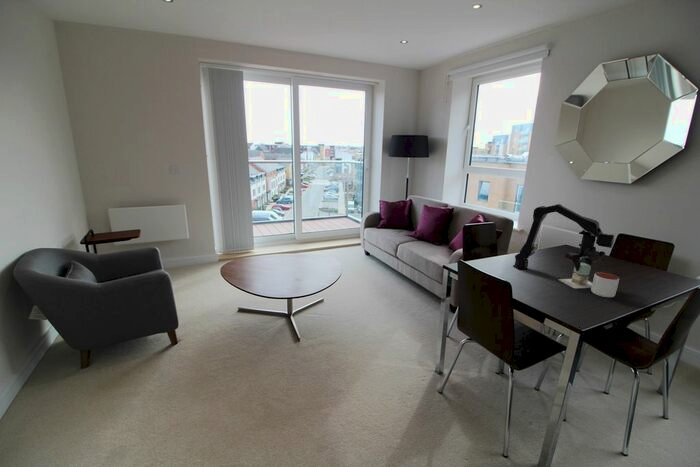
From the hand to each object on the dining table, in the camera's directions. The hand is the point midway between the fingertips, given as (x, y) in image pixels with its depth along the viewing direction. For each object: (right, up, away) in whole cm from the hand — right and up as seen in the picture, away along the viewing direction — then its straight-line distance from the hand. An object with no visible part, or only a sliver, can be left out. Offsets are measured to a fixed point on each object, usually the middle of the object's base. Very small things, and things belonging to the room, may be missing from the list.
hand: (581, 270), depth 176 cm
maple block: (0, -7, +2) cm, 7 cm away
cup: (+3, -11, -10) cm, 15 cm away
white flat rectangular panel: (0, -7, +2) cm, 8 cm away
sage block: (0, -1, 0) cm, 1 cm away
